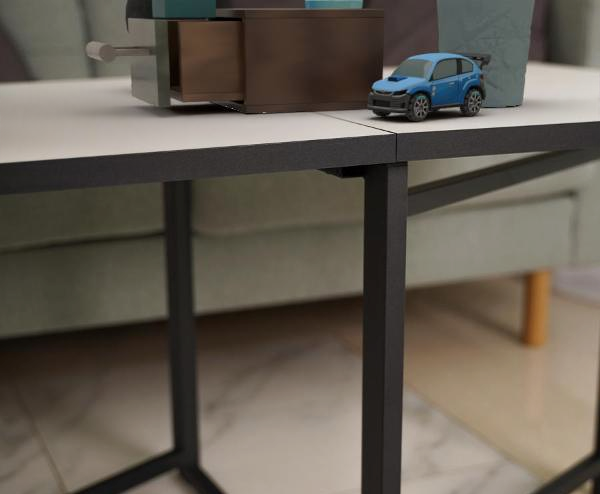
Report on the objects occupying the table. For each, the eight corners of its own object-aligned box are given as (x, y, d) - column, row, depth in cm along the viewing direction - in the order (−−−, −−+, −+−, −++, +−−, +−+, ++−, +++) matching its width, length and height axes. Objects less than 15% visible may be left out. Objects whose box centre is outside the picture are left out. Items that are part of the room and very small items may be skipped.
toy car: (358, 117, 85) (359, 54, 83) (446, 108, 92) (449, 50, 90) (403, 123, 80) (405, 57, 79) (492, 114, 87) (496, 53, 86)
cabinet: (246, 114, 87) (244, 9, 84) (208, 101, 98) (205, 8, 95) (382, 108, 93) (385, 9, 90) (331, 96, 104) (332, 8, 101)
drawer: (106, 109, 83) (101, 20, 80) (85, 98, 93) (79, 18, 90) (293, 102, 89) (293, 19, 87) (254, 92, 99) (253, 17, 97)
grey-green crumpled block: (529, 109, 91) (538, -17, 88) (427, 107, 93) (433, -17, 90) (525, 99, 101) (534, -15, 97) (433, 97, 103) (439, -15, 99)
